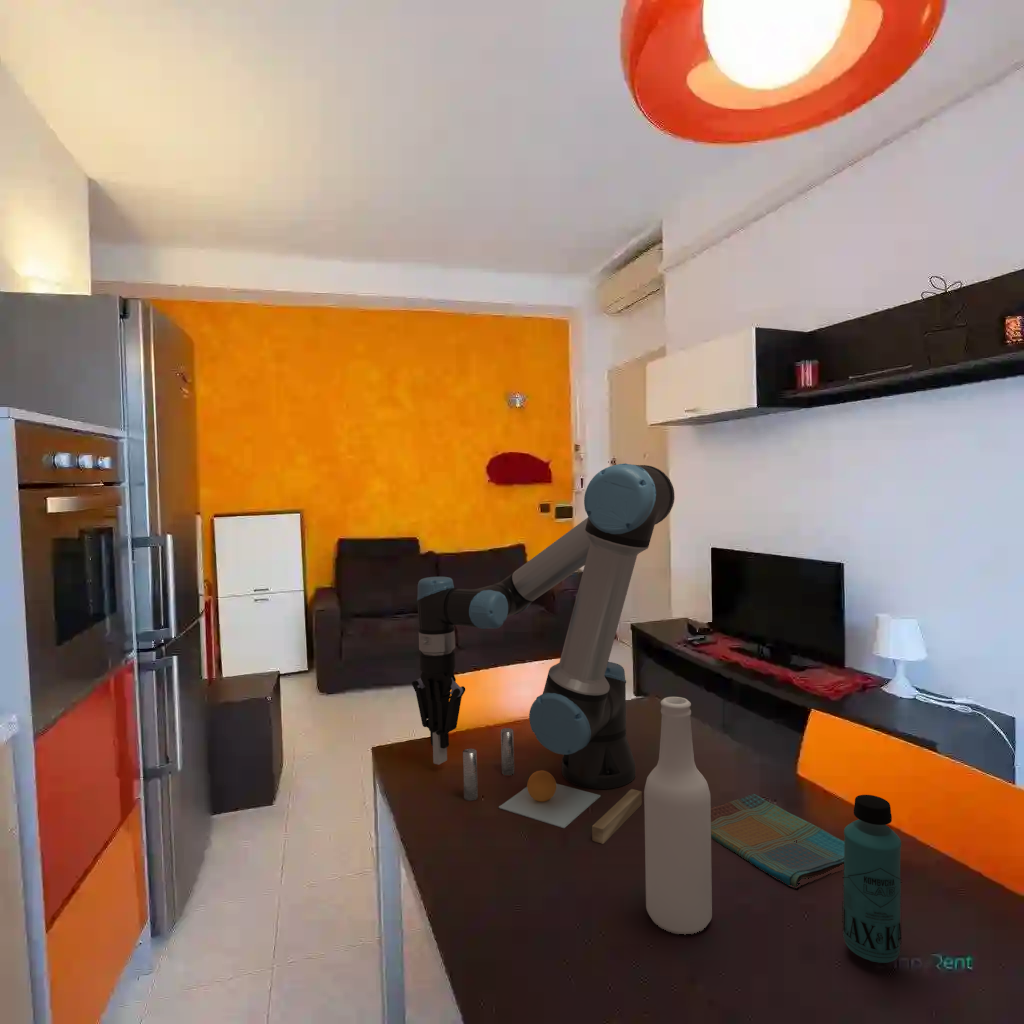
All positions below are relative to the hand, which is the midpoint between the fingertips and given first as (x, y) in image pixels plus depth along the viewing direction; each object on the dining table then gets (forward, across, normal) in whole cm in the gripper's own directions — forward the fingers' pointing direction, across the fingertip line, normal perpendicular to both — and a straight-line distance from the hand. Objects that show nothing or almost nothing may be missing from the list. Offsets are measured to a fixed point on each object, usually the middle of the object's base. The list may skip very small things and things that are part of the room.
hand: (440, 761), depth 140 cm
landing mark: (+2, +27, 0) cm, 27 cm away
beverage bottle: (+2, +82, -14) cm, 83 cm away
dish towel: (+3, +65, +8) cm, 66 cm away
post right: (+2, +13, +6) cm, 15 cm away
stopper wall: (+2, +41, 0) cm, 41 cm away
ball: (-1, +25, 0) cm, 25 cm away
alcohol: (+2, +59, -19) cm, 62 cm away
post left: (+2, +13, -6) cm, 15 cm away
